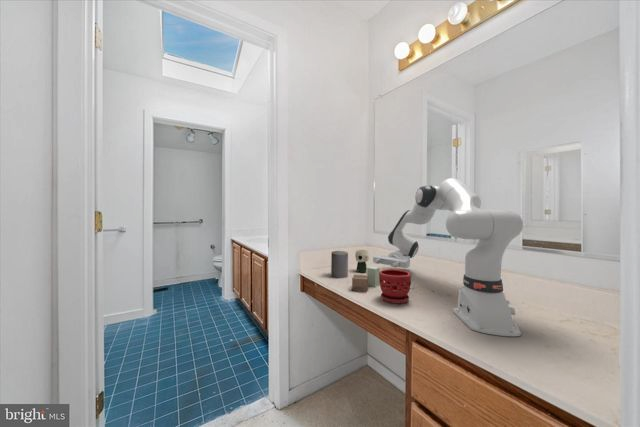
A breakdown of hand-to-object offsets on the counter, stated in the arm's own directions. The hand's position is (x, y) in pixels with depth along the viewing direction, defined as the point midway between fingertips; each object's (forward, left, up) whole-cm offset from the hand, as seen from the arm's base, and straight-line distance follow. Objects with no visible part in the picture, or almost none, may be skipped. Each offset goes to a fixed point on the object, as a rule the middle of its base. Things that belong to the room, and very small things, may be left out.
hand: (384, 263), depth 138 cm
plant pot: (-29, -5, -9) cm, 31 cm away
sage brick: (-11, +5, -9) cm, 15 cm away
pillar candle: (+1, +25, -9) cm, 27 cm away
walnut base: (-19, +11, -9) cm, 24 cm away
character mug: (+14, +14, -9) cm, 21 cm away
